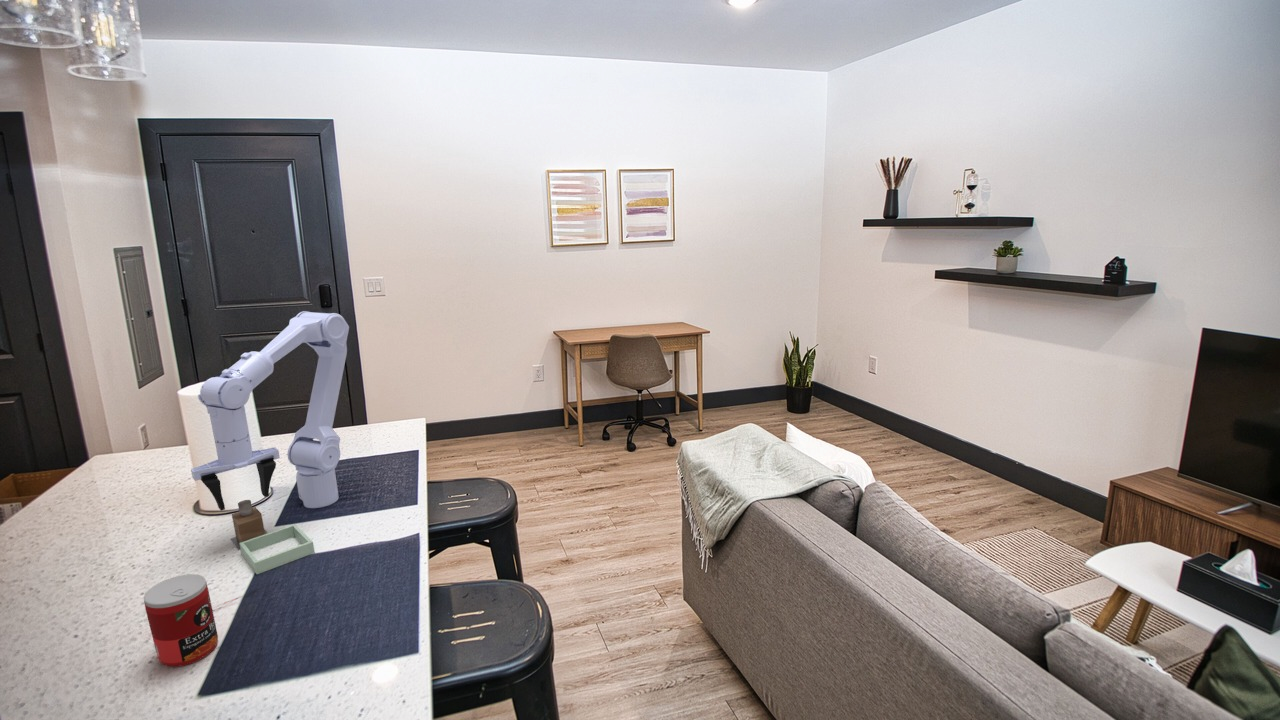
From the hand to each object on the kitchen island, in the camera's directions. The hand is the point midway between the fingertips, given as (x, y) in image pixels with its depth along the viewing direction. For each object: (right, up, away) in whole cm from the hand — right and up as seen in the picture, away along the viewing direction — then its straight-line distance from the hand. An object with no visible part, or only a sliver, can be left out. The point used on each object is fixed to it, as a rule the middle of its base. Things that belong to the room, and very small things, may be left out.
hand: (244, 501), depth 125 cm
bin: (+9, -10, -3) cm, 14 cm away
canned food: (+9, -17, -28) cm, 34 cm away
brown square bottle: (0, -8, +2) cm, 8 cm away
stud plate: (0, -9, +2) cm, 9 cm away
